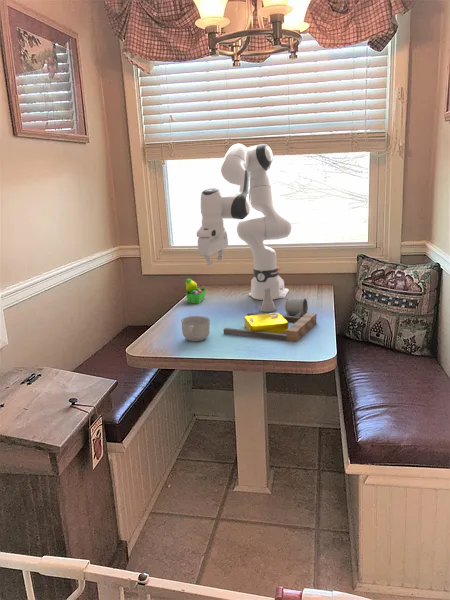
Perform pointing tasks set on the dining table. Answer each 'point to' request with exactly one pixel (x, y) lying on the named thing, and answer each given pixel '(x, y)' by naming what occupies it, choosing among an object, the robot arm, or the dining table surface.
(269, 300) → the flask
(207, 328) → the teacup
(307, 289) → the dining table surface
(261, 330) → the element tile
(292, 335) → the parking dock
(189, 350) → the dining table surface
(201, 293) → the fruit basket
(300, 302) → the ceramic mug
